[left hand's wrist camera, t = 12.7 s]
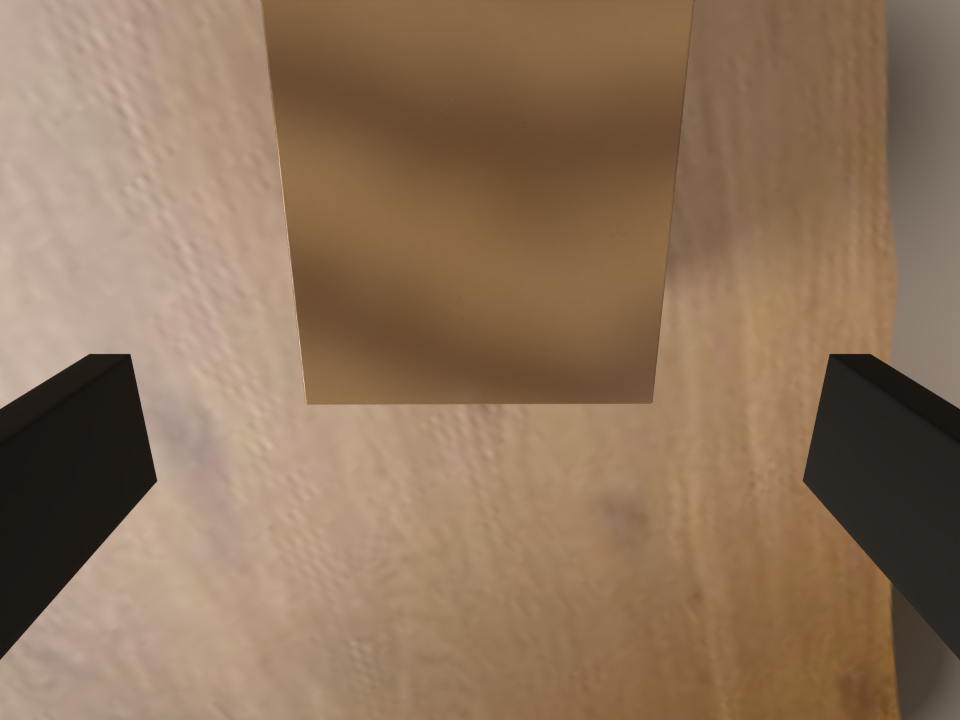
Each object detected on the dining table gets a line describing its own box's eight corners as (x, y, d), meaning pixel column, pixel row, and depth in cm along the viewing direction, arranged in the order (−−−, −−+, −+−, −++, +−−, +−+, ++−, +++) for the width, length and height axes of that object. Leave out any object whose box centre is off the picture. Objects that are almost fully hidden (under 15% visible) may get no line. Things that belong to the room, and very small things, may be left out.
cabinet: (335, -129, 24) (225, -312, 14) (621, -130, 24) (728, -314, 14) (365, 305, 31) (305, 405, 20) (593, 304, 31) (652, 404, 20)
